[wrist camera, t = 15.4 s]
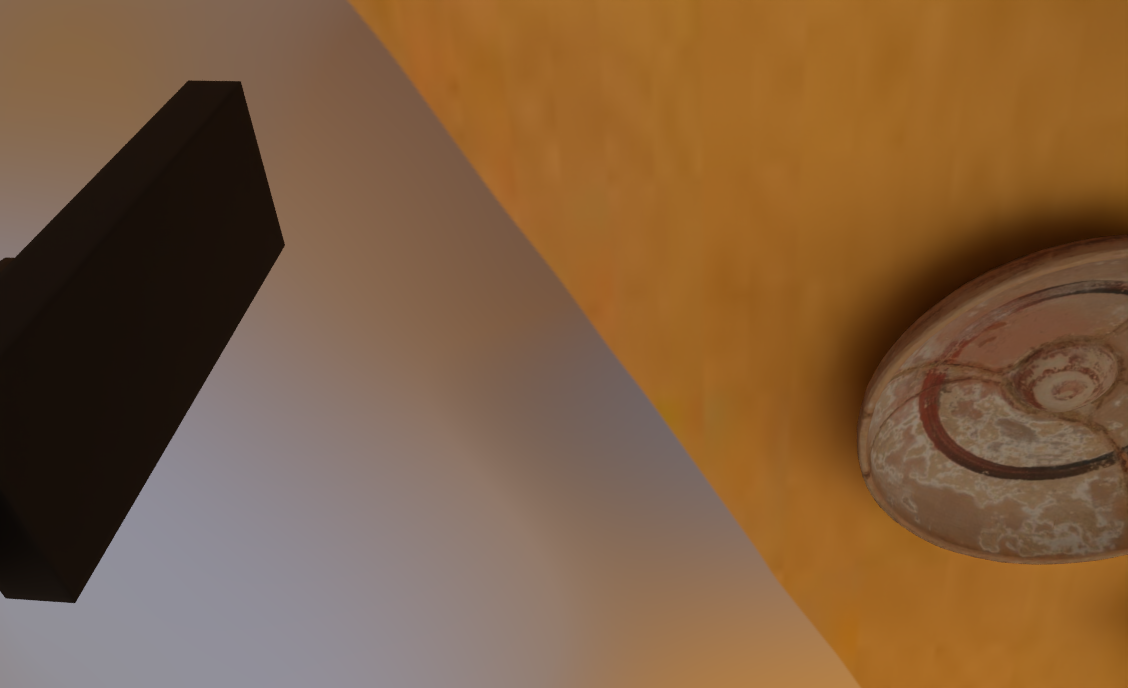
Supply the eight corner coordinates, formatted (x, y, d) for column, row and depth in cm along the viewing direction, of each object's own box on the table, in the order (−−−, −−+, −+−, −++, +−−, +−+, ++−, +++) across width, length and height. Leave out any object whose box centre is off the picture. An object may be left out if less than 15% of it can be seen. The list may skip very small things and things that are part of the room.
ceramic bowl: (964, 549, 61) (982, 613, 57) (766, 342, 51) (772, 402, 47) (1361, 402, 50) (1417, 470, 46) (1205, 98, 40) (1261, 152, 36)
